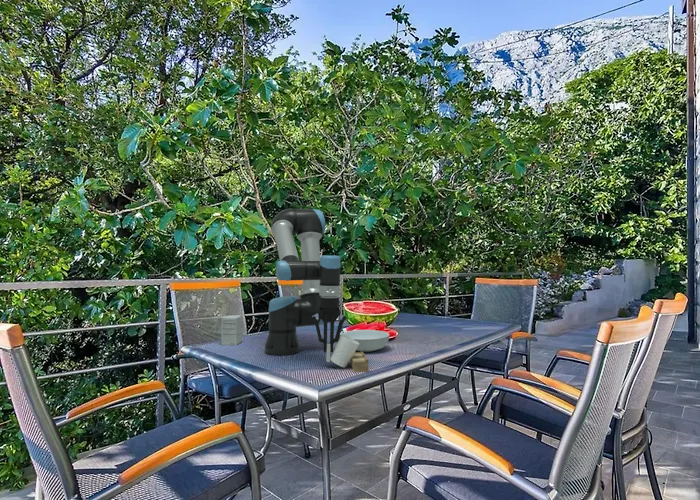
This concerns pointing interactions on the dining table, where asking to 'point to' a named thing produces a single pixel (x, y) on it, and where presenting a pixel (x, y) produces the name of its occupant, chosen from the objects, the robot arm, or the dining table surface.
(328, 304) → the robot arm
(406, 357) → the dining table surface
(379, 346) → the serving bowl
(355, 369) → the brass metal channel
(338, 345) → the white cup
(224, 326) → the supplement box
